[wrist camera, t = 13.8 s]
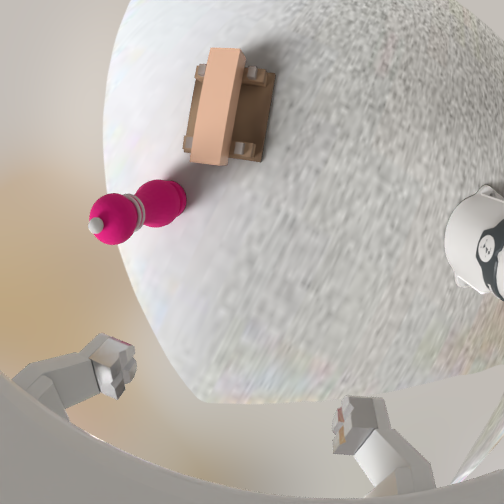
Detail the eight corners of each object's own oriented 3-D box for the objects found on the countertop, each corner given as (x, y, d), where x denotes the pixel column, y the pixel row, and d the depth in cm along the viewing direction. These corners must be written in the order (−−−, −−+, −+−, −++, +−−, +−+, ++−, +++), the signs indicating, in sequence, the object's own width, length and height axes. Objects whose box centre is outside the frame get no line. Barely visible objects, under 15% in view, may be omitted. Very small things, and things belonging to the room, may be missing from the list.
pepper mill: (159, 171, 44) (75, 183, 25) (196, 188, 43) (124, 210, 25) (145, 209, 46) (64, 241, 27) (180, 227, 46) (109, 272, 27)
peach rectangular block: (246, 58, 32) (240, 48, 29) (227, 165, 38) (219, 165, 34) (218, 57, 33) (210, 47, 29) (200, 161, 38) (189, 161, 34)
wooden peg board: (275, 75, 36) (272, 63, 31) (261, 162, 41) (255, 162, 35) (200, 70, 37) (187, 59, 32) (186, 152, 42) (171, 151, 37)
